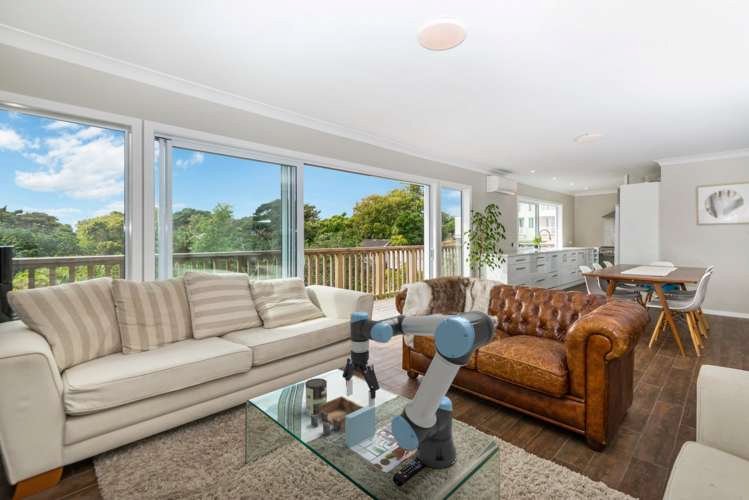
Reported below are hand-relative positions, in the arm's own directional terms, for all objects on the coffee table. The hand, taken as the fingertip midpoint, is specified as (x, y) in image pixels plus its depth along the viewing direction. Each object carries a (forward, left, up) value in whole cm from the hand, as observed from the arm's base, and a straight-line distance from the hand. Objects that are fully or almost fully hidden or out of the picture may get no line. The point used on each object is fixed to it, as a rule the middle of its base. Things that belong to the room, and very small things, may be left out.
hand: (360, 400), depth 151 cm
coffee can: (+33, -1, -17) cm, 37 cm away
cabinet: (+18, -2, -17) cm, 24 cm away
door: (0, 0, -16) cm, 16 cm away
